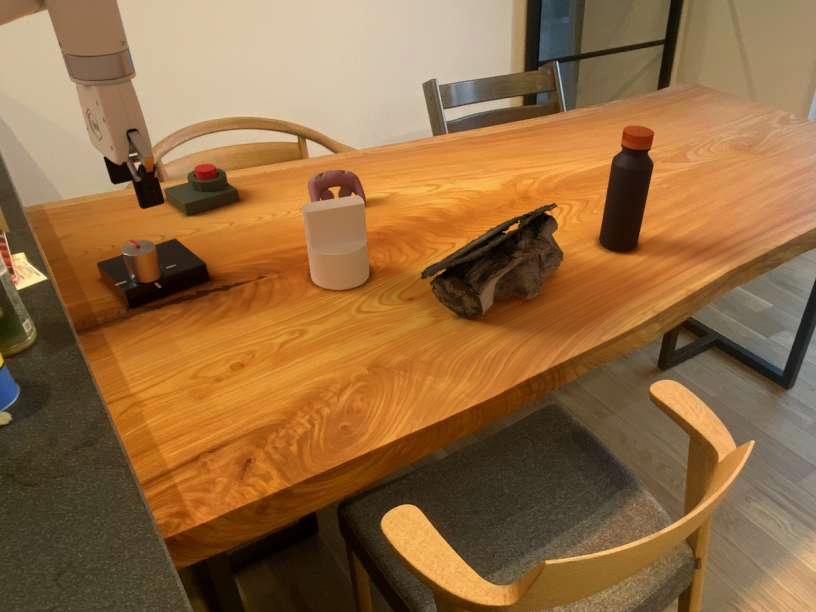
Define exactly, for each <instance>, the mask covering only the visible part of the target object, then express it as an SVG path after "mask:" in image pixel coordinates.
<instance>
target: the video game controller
mask: <svg viewBox="0 0 816 612" xmlns="http://www.w3.org/2000/svg"><path fill="white" fill-rule="evenodd" d="M337 187H339V190H338V192H337V198H342V197H349V196H352V194H354V196H355V195H358V196H360V197H361V198H362V199H363V200H364V205H366V203H367V200H366V193H365V191H364V188H363V185H362V182H361V180H360V178H359V177H358V175H357V174H355V173H354V172H352V171H351V170H343V169H330V170H326V171H323V172H320V173H317V174H314V175H313V176H312V177H311V178H309V180H308V181H307V190H308V195H309V196H308V197H309V200H310V202H317V201H323V200H329V199H335V194H334V192H333V191H332V190H330V188H337Z"/></svg>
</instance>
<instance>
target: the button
mask: <svg viewBox="0 0 816 612" xmlns="http://www.w3.org/2000/svg"><path fill="white" fill-rule="evenodd" d="M216 168H217V167H216V165H214V164H211V163H202V164H197V165H195V167H194V169H193V170H195V174H196V178H197V179H201V180H207V179H213V178H216V177H217V171H216Z"/></svg>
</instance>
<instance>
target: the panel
mask: <svg viewBox="0 0 816 612" xmlns="http://www.w3.org/2000/svg"><path fill="white" fill-rule="evenodd" d="M155 246H156V249H157V253H158V256H159V260H160V263H161V267H162V270H163V275H162V276H161V277H160V278H159V279H157V280H155V281H152V282H148V283H137V282H134V281H132V280H131V279H130V277H129V273H128V270H127V267H126V264H125V261H124V258H123V255H122V254H121V255H117V256H113V257H111V258H107V259H104V260H101V261H98V262H96V263H95V264H96V266H97V269H98V272H99V275H100V277H101V280H102V281H103V282H104V283H105V285H107V286H108V287H109V289H111V290H112V292H113V293H114V294H116V295H117V296H118V298H120V300H122V301H123V303H124V304H126V305H127V307H128V308H129V309H132V308H133V309H134V308H136V307H139V306H142V305H144V304H147V303H150V302H153V301H155V300H159V299H161V298H164V297H168V296H169V295H173V294H174V293H175V294H176V293H179V292H181V291H183V290H187V289H190V288H192V287H196V286H198V285H201V284H204V283H206V282H209V281H211V278H210V274H209V271H208V266H207V262H205V261H204V260H202V259H201V258H200V257H199V256H198V255H197V254H196V253H194V252H193V251H191V250H190V249H189V248H188V247H186V246H185V245H184V244H183V243H182V242H181V241H179V240H178V239H177V238H172V239H170V240H166V241H162V242H159V243H156V244H155Z"/></svg>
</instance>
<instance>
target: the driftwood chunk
mask: <svg viewBox="0 0 816 612" xmlns="http://www.w3.org/2000/svg"><path fill="white" fill-rule="evenodd" d="M556 208H558V204H557V203H556V202H553V203H550V204H545V205H542V206H540V207H538V208H536V209H533V210H532V211H531V210H530V211H529V212H526V213H524V214H522V215H519V216H514V217H513V218H511V219H508V220H506V221H504V222H502V223H500V224H497V225H496V226H494V227H491V228H489V229H488V230H487V231H486V232H485V233H483V234H481V235H479V236H478V237H477V238H474V239H472V240H471V241H470V242H468V243H467V244H466V245H464V246H462V247H461V248H459V249H457V250H455V251H454V252H452V253H450V254H449V255H447V256H446V257H444V258H442V259H441V260H440V261H437V262H434V263H432V264H431V265H428V266H426V267H425V269H423V270H422V271H421V272H420V274H421V276H420V280H425V279H428V278H432V277H433V278H432V280H431V281H430V282H429V286H431V290H432V293H433V295H435V298H436V299H437V301H439V303H441V304H442V305H443V306H444V307H446V308H447V309H449V310H450V311H451V312H453V313H455V314H456V316H458V317H459V318H462V319H465V320H470V319H473V318H476V317H483V316H484V314H485V313H486V312H487V311H488V310H489V309H490V308H491V306H492V305H493V304H494V299H495V300H499V299H506V298H508V297H511V296H515V297H516V296H517V297H519V298H521V299H524V300H529V299H533V298H535V297H537V296H538V295H539V294H541V289H542V285H543V283H544V282H545V280H547V279H548V278H550V276H551V275H552V274H554V273H555V272H556V271H557V270H558V269H559V268H560V267H561V262H562V261H564V251H563V249H562V248H561V247H560V246H559V243H558V242H557V240H556V239H555V237H554V235H553V234H554V233H555V232H556V231H558V229H559V224H558V221H557V220H556V218H555V217H554V215H552V214H548V213H547V212H552V211H553V210H554V209H556ZM516 224H517V228H515V229H511V230H509V229H510V228H511V227H513V226H514V225H516ZM508 230H509V231H508ZM507 231H508V232H507ZM439 272H441V273H439ZM438 273H439V274H438ZM435 275H436V276H435Z"/></svg>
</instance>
